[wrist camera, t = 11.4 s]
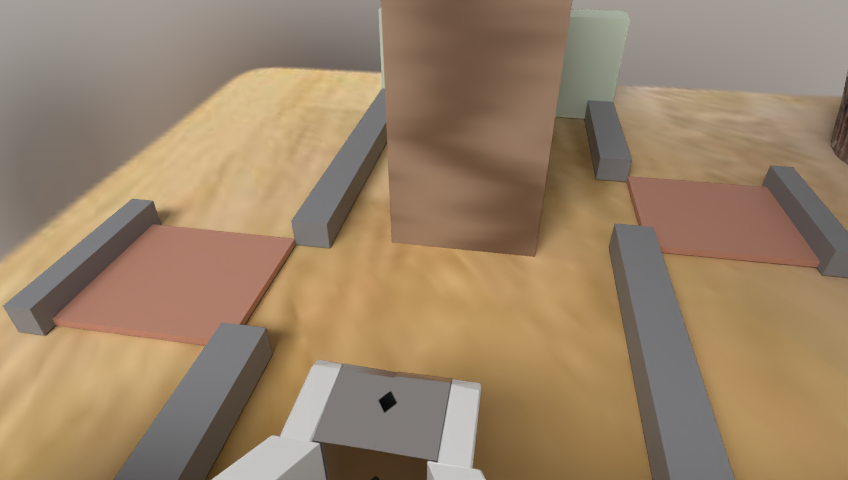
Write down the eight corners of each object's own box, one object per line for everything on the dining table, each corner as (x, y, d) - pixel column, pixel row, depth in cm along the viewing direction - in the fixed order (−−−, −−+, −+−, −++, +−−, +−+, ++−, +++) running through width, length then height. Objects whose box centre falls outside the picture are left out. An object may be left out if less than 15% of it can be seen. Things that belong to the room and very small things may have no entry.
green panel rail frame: (727, 115, 34) (761, 15, 30) (1417, 1025, 7) (2299, 1051, 4) (287, 89, 38) (273, -2, 35) (-290, 611, 11) (-599, 444, 8)
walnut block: (535, 124, 33) (560, -82, 27) (534, 258, 22) (579, -43, 16) (439, 117, 34) (442, -84, 28) (391, 243, 23) (378, -48, 16)
